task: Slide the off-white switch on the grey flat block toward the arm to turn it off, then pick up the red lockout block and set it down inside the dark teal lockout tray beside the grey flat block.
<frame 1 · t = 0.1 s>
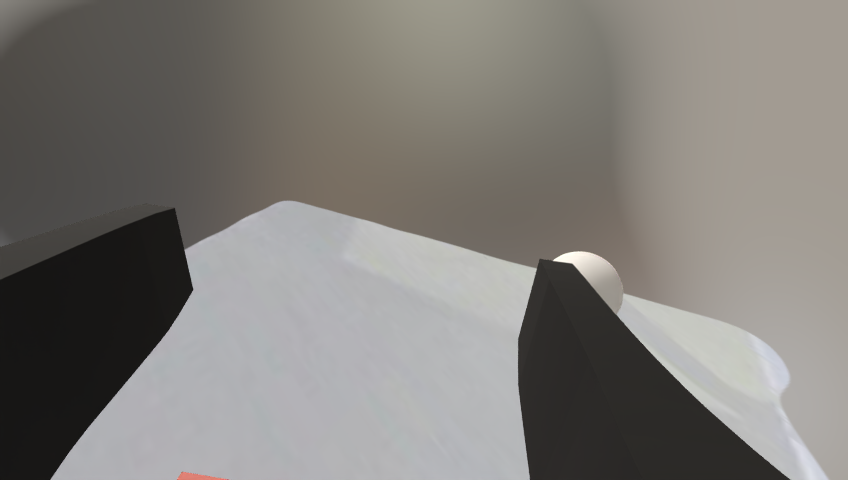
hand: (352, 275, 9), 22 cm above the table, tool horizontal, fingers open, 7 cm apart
lightbulb: (556, 371, 39), on the table
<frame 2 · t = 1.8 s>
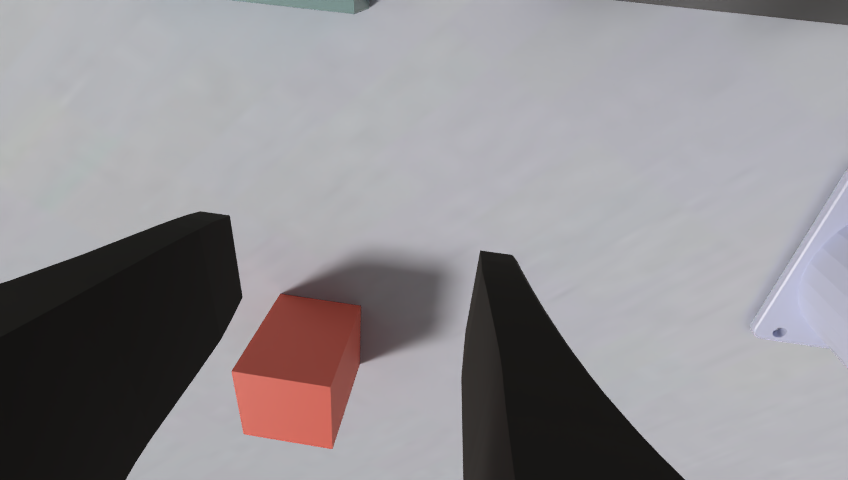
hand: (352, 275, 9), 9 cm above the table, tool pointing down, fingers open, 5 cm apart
lockout block: (321, 329, 23), on the table
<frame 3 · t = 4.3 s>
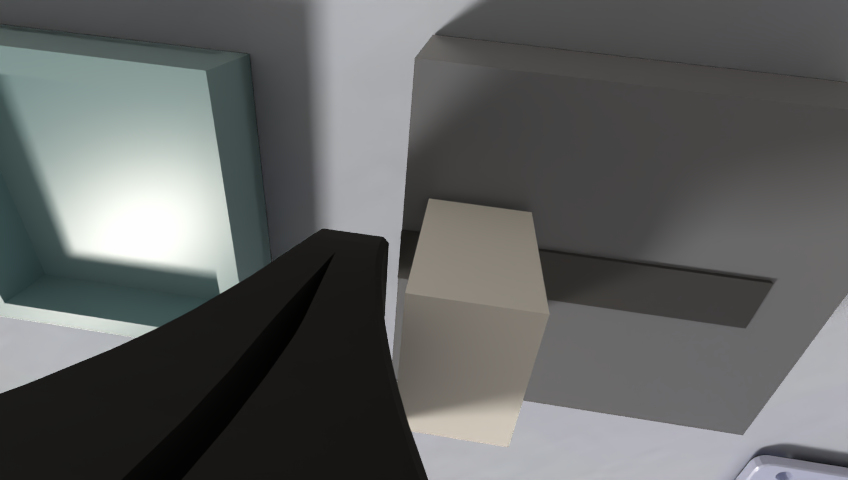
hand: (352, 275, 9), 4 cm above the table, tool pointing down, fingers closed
grey flat block: (584, 216, 12), on the table
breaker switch: (466, 314, 8), point 5 cm above the table, slide at 0.0 cm, touching gripper
lockout tray: (130, 185, 13), on the table
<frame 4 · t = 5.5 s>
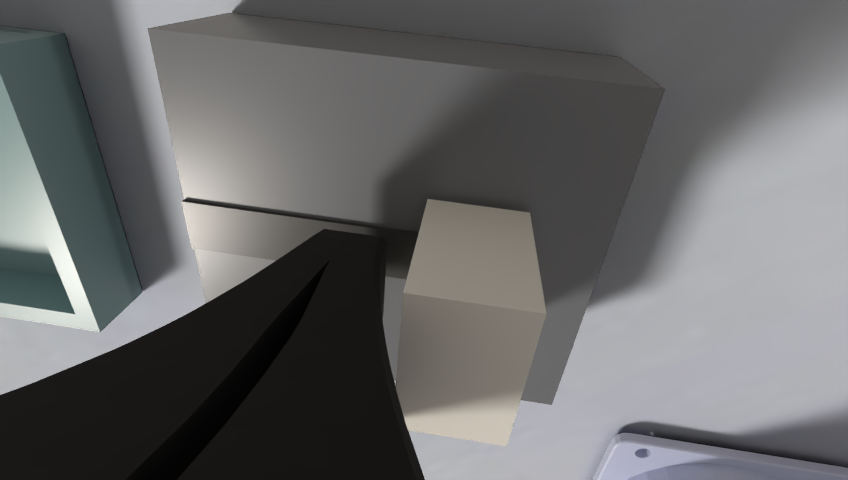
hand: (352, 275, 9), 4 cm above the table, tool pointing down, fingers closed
grey flat block: (408, 192, 12), on the table
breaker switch: (464, 314, 8), point 5 cm above the table, slide at 4.8 cm, touching gripper
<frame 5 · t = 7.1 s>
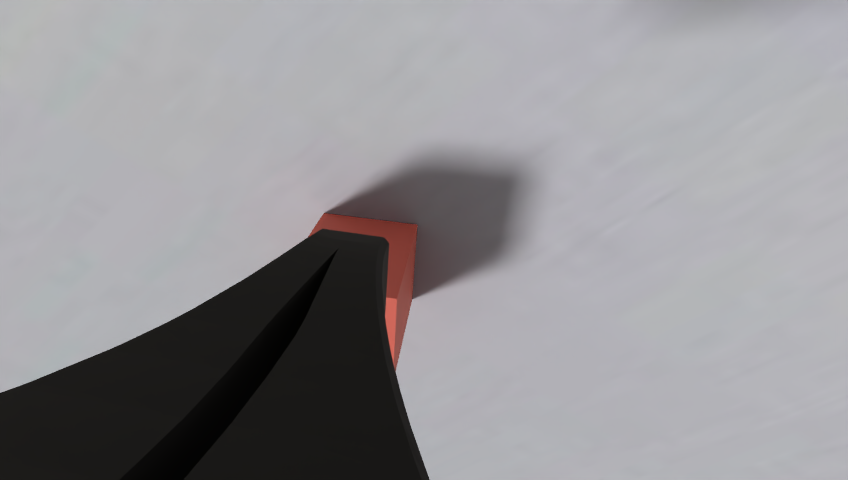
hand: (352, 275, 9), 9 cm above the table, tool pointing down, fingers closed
lockout block: (370, 257, 20), on the table
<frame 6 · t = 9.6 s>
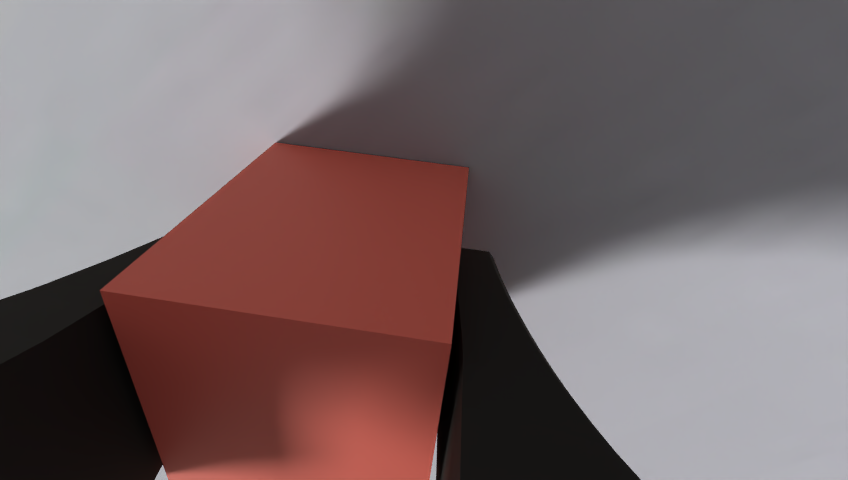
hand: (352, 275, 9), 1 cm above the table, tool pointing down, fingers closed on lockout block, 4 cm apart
lockout block: (368, 238, 10), on the table, touching gripper
when the fingers open (3 cm above the table, at t = 13.6 s): lockout block drops 1 cm, resting on lockout tray.
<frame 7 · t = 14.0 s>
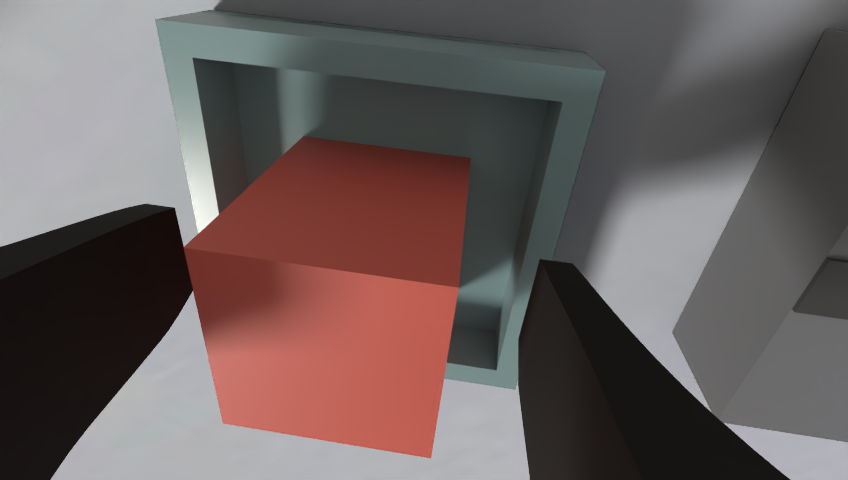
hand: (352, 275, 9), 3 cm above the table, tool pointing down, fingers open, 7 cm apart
lockout tray: (385, 199, 12), on the table
lockout block: (382, 220, 12), resting on lockout tray
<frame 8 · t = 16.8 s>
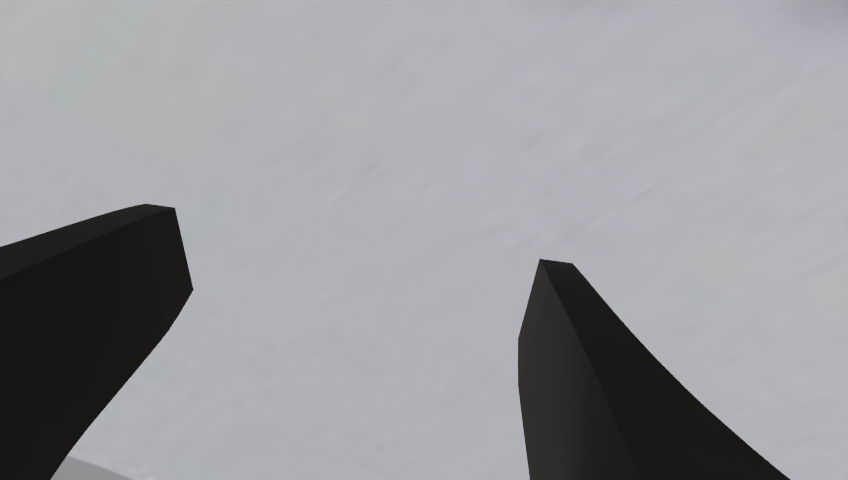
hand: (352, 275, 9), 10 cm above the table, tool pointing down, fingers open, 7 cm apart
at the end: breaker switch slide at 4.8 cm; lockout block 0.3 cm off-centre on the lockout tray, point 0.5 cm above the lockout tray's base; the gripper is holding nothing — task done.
